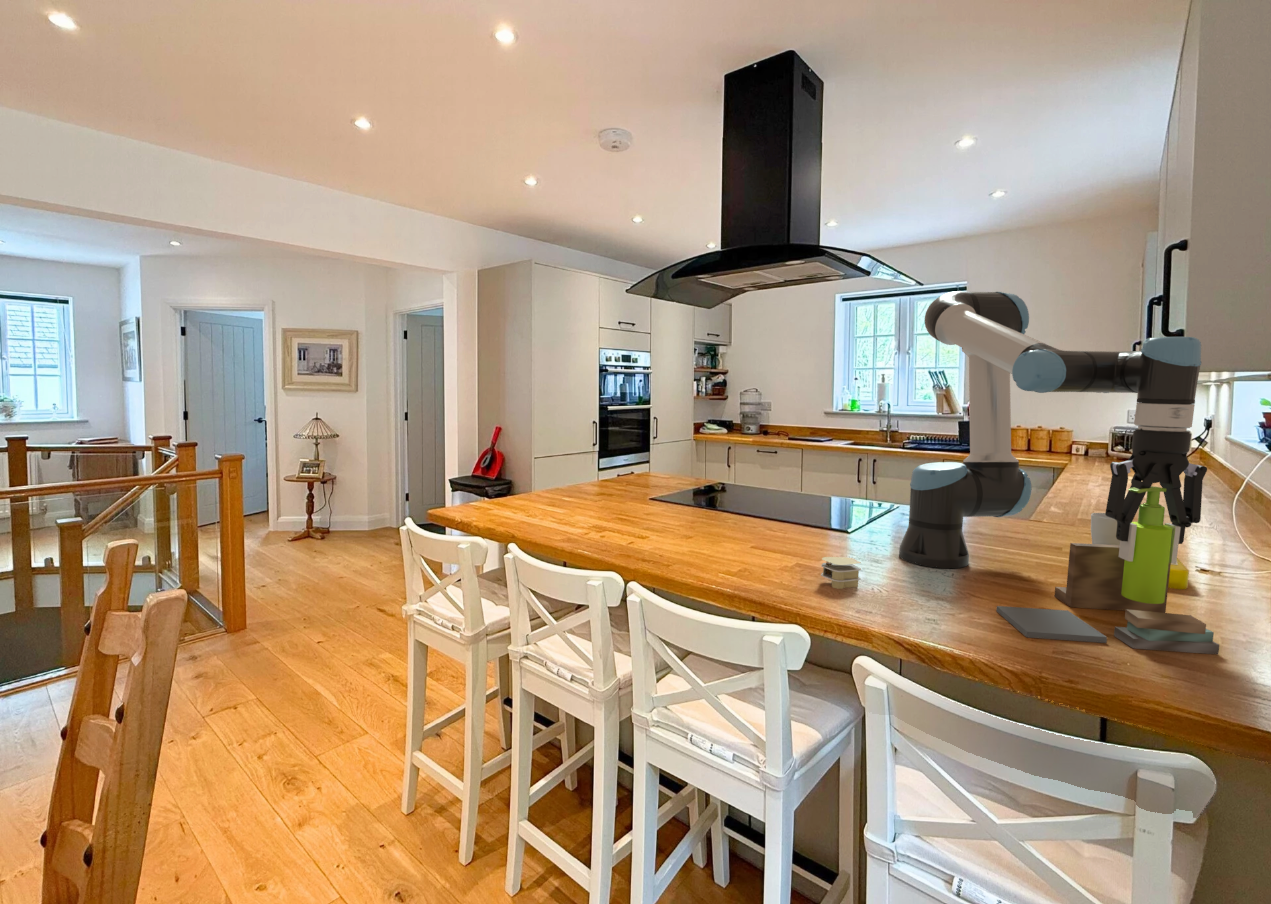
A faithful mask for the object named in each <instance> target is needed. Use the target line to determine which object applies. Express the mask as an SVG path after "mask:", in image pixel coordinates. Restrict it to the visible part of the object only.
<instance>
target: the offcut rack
mask: <svg viewBox="0 0 1271 904" xmlns="http://www.w3.org/2000/svg"><path fill="white" fill-rule="evenodd" d="M1069 545H1070V546H1069V555H1068V564H1067V565H1068V566H1067V575H1066V576H1067V577H1066V586H1065V587H1064V586H1054V594H1053V595H1054V597H1055V598H1057V599H1058V600H1059V601H1060V602H1062V603H1064V604H1065V605H1067V606H1068V607H1070V608H1077V609H1081V608H1082V609H1095V610H1096V609H1098V610H1113V611H1125V612H1124V619H1125V620H1126V621H1127V623H1126V626H1125V627H1124V626H1114V630H1113V631H1114V632H1113V637H1115V638H1117V639H1118V640H1120V641H1121V642H1123V643H1125V644H1126V645H1127V646H1128V647H1130V648H1132V649H1138V650H1150V651H1151V650H1152V651H1153V650H1154V651H1166V652H1167V651H1168V652H1179V653H1180V652H1181V653H1191V654H1192V653H1194V654H1208V655H1219V654H1220V653H1219V651H1220V644H1219V643H1217V642H1215V641H1214V631H1212V630H1210V629H1207V624H1206V623H1204V622H1203V621H1201V620H1199V619H1198V618H1196V617H1194V616H1193V615H1191V614H1179V613H1173V612H1172V613H1171V612H1170V613H1169V612H1166V610H1167V602H1168V593H1169V591H1168V590H1169V588H1168V584H1169V575H1170V566H1171V563H1169V565H1168V574H1167V583H1166V592H1165V601H1164V603H1161V604H1149V603H1143V602H1138V601H1134V600H1130V599H1128V598H1125V597H1124V596H1122V595H1121V591H1122V582H1123V572H1124V562H1125V560H1124V559H1122V558H1120V557H1119V548H1120V545H1103V544H1092V543H1081V542H1077V543H1076V542H1070V543H1069Z"/></svg>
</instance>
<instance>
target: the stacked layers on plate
mask: <svg viewBox="0 0 1271 904" xmlns="http://www.w3.org/2000/svg"><path fill="white" fill-rule="evenodd" d="M821 560H822V561H825V562H823V563H821V567H822V573H821V574H820V577H822V578H825V579H827V580H830V581H831V587H832V588H834V589H838V590H842V589H845V588H858V587H859V581H860V580H861V577H860V576H859V573H860V572H859V571H862V568H860V567H859V566H856V564H862V563H861V562H860V561H858V560H857V559H855V558H853V557H843V556H842V557H841V556H840V557H839V556H823V557H822V558H821Z"/></svg>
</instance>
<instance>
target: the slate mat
mask: <svg viewBox="0 0 1271 904" xmlns="http://www.w3.org/2000/svg"><path fill="white" fill-rule="evenodd" d="M995 611H996V613H998V614H999V615H1000V616H1001V617H1002V618H1003V619H1005V621H1007V622H1008V623H1010V624H1011V626H1013V628H1015V629H1016V630H1017V631H1019V633H1020V634H1022V635H1023V636H1024V637H1026V638H1029V639H1031V638H1032V639H1043V640H1044V639H1046V640H1060V641H1061V640H1062V641H1076V642H1085V643H1086V642H1087V643H1103V644H1107V640H1108V636H1106V635H1104V633H1101V632H1100V631H1099V630H1098V629H1096V628H1094V627H1093V626H1091V625H1090V624H1089V623H1087V622H1085V621H1084V620H1082V619H1081V618H1079V617H1078V616H1077V615H1075V614H1074V613H1072V612H1071V611H1070V610H1065V609H1064V610H1063V609H1052V608H1051V609H1049V608H1036V607H1035V608H1033V607H1019V606H1018V607H1017V606H1005V605H1004V606H1003V605H997V606H996V610H995Z"/></svg>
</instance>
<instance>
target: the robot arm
mask: <svg viewBox="0 0 1271 904" xmlns="http://www.w3.org/2000/svg"><path fill="white" fill-rule="evenodd" d="M924 325H925V326H924V327H925V329H926V331H927V333H928V334H929V335H930V336H931V338H934V339H935V340H937V341H938V342H941V343H942V344H944V345H947V346H955V345H956V346H958V347H959V348H961V351H962V352H963V353H964V354H965V355H966V356H967V357H968V384H969V385H968V387H969V388H968V389H969V393H968V395H969V396H968V397H969V400H968V401H969V403H968V404H969V451H970V452H969V455H968V456H967V457H965V458H964V459H963V462H956V461H955V462H954V461H945V462H944V461H943V462H942V461H939V462H929V463H928V462H927V463H924V464H919V465H918V466H915V468H914V469H913V470H912V473H911V478H910V483H909V487H910V495H909V509H908V510H909V511H908V512H909V514H908V526H907V529H906V531H905V534H904V535H903V538H902V540H901V542H900V545H899V549H898V556H899V558H900V559H901V560H904V561H906V562H908V563H912V564H914V565H919V566H924V567H928V568H929V567H930V568H938V569H961V568H965V567H967V566H968V565H969V562H970V561H969V560H970V553H969V550H968V547H967V544H966V540H965V536H964V533H963V527H964V526H963V525H964V524H963V523H964V518H967V517H968V518H970V517H972V518H973V517H977V518H978V517H994V518H1002V517H1008V516H1009V517H1010V516H1014V515H1017V514H1018V513H1021V512H1022V511H1023V509H1024V508H1026V507H1027V505H1028V503H1029V502H1030V499H1031V496H1032V483H1031V479H1030V477H1028V474H1027V472H1026V471H1025V470H1024V469H1022V468H1020V464H1019V463H1020V462H1019V460H1018V458H1016V457H1015V456H1014V455H1013V453H1012V423H1011V422H1012V421H1011V377H1012V380H1013V381H1014V382H1015V384H1016V387H1017V388H1019V390H1022V391H1026V392H1035V393H1037V394H1038V393H1040V394H1044V393H1096V394H1097V393H1099V394H1101V393H1103V394H1109V393H1117V394H1118V393H1119V394H1120V393H1123V394H1124V393H1126V394H1127V393H1130V394H1132V393H1133V394H1136V397H1137V398H1136V405H1135V412H1134V421H1133V425H1134V426H1136V427H1137V428H1135V429H1134V430H1133V431H1132V440H1131V441H1132V442H1131V450H1132V453H1131V455H1130V457H1129V458H1128V460H1125V461H1121V462H1117V461H1112V462H1110V464H1109V467H1110V471H1111V480H1110V485H1109V486H1110V487H1109V491H1108V497H1107V502H1106V507H1105V512H1104V513H1105V515H1106V516H1107V517H1110V518H1113V519H1115V520H1116V521H1117V531H1116V538H1117V539H1118V540H1120V548H1119V557H1120V558H1122V559H1124V560H1127V561H1133V556H1134V547H1135V538H1136V530H1137V525H1136V524H1133V523H1132V522H1134V518H1135V516H1136V515H1137V512H1138V511H1139V506H1140V504H1142V502H1143V500H1144V498H1145V495H1147V492H1142V493H1136V492H1131V491H1129V490H1128V491H1127V486H1128V482H1129V474H1130V473H1131V470H1132V471H1133V472H1134V474H1133V476H1132V478H1131V479H1130V480H1131V481H1130V484H1131V485H1130V487H1129V488H1133V487H1135V488H1138V489H1143V488H1148V489H1149V488H1150V487H1151V486H1153V484H1157V483H1159V486H1160V487H1161V488H1166V492H1163V495H1164V500H1165V503H1166V508H1167V512H1168V517H1169V521H1170V522H1169V523H1168V522H1165V523H1164V525H1166V526H1169V527H1171V528H1172V538H1171V547H1170V556H1169V563H1171V564H1176V561H1177V558H1178V550H1179V545H1183V544H1184V542H1185V531H1186V528H1190V527H1191V526H1192V524H1198V523H1200V522H1201V518H1202V517H1201V516H1202V515H1201V514H1202V498H1203V497H1202V495H1203V480H1204V477H1205V476H1206V474H1207V472H1208V467H1207V466H1205V465H1200V464H1194V463H1191V462H1190V461H1189V459H1188V453H1189V451H1190V449H1191V448H1190V447H1191V441H1192V440H1191V439H1192V433H1191V431H1189V430H1188V429H1190V428H1192V427H1193V422H1194V421H1193V420H1194V415H1195V414H1194V412H1195V404H1196V396H1197V395H1196V393H1197V387H1198V383H1199V382H1198V380H1199V375H1200V370H1201V366H1202V361H1201V359H1202V358H1201V357H1202V342H1201V340H1200V339H1199V338H1197V337H1196V336H1195V337H1193V336H1161V337H1158V336H1156V337H1148V338H1146V339H1145V340H1144V341H1143V344H1142V348H1141V349H1140V350H1136V351H1135V350H1134V351H1131V350H1130V351H1128V350H1127V351H1126V350H1125V351H1107V350H1106V351H1100V350H1099V351H1098V350H1097V351H1096V350H1094V351H1091V350H1090V351H1089V350H1087V351H1086V350H1085V351H1084V350H1063V349H1058V348H1056V347H1054V346H1051V345H1049V344H1047V343H1046V342H1043V341H1040V340H1038V339H1035V338H1034V337H1031V336H1029V335H1026V331H1027V330H1026V329H1028V327H1029V325H1030V314H1029V309H1028V306H1027V305H1026V302H1025V301H1024V300H1023V299H1022V298H1021V297H1019V296H1018V295H1017V294H1015V293H1007V292H1004V291H1003V292H1002V291H992V292H991V291H964V290H963V291H961V290H959V291H958V290H957V291H950V292H947V293H945V294H942V295H940V296H939V297H937V298H935V299H934V300H933V301H932V302H931V303H930V304H929V306H928V307H927V310H926V312H925V315H924ZM1182 474H1184V477H1183V479H1184V480H1183V492H1182V491H1181V488H1182V483H1181V478H1180V476H1181V475H1182ZM1182 493H1183V495H1182Z"/></svg>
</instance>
